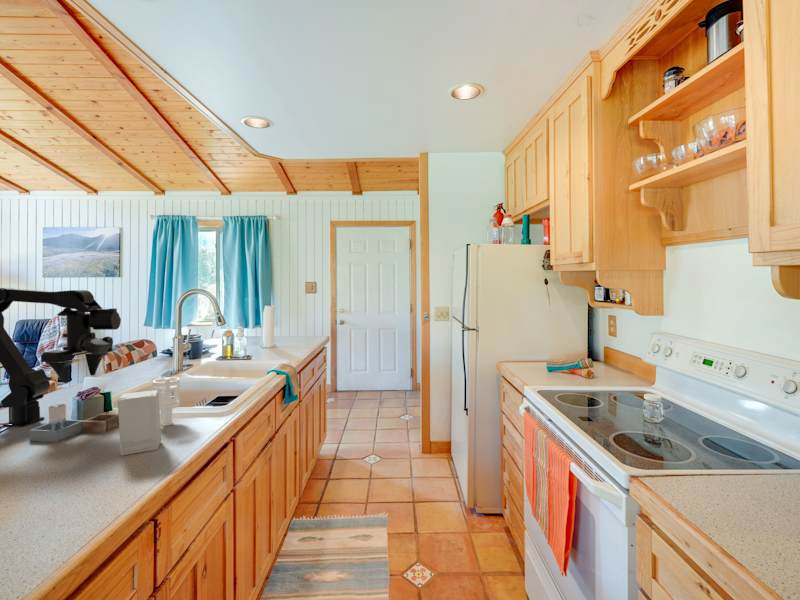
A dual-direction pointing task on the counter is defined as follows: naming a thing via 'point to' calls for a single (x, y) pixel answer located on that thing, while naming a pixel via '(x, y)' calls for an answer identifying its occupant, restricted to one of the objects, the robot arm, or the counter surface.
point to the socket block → (100, 423)
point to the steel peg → (57, 417)
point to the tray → (56, 432)
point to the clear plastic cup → (167, 397)
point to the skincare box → (139, 422)
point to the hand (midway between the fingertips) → (79, 378)
